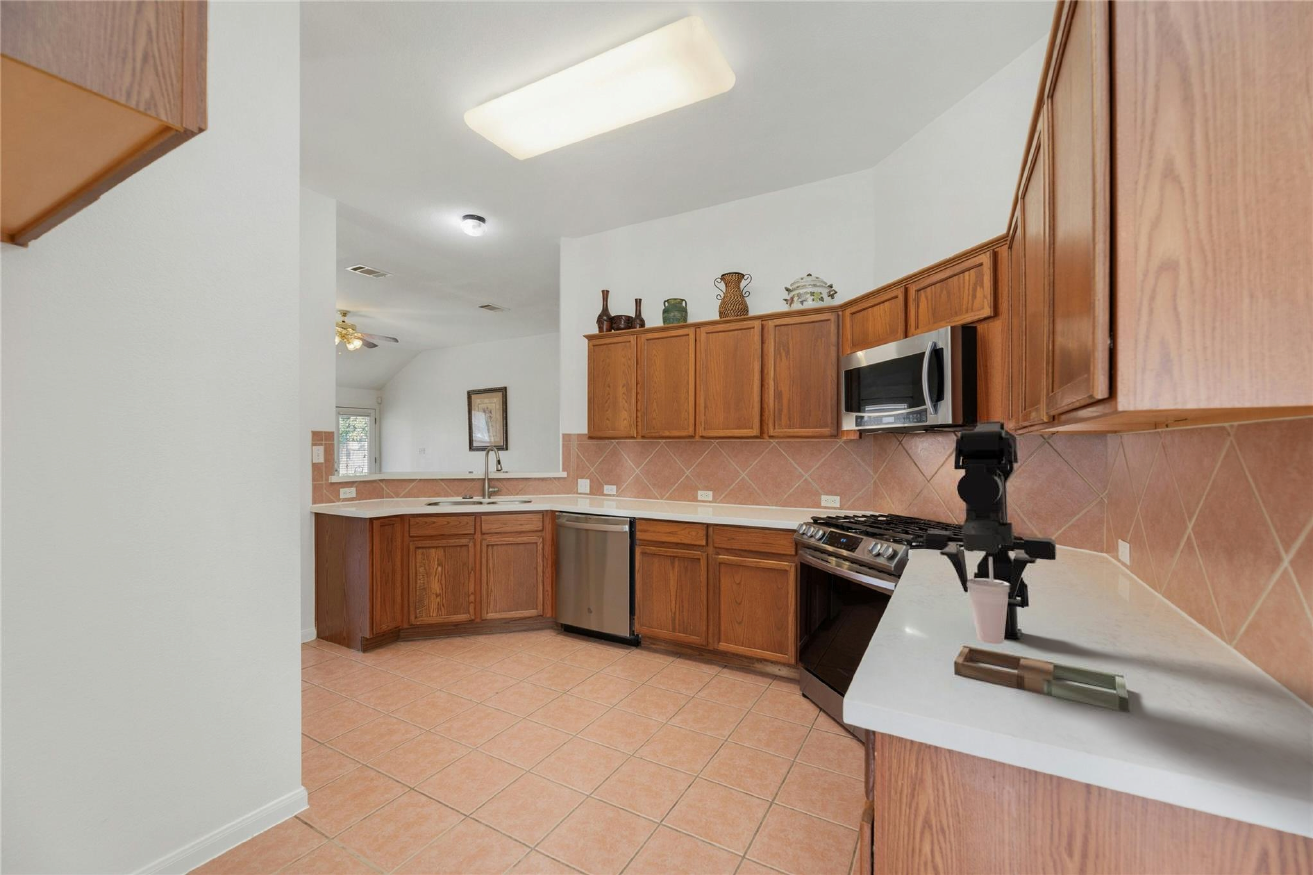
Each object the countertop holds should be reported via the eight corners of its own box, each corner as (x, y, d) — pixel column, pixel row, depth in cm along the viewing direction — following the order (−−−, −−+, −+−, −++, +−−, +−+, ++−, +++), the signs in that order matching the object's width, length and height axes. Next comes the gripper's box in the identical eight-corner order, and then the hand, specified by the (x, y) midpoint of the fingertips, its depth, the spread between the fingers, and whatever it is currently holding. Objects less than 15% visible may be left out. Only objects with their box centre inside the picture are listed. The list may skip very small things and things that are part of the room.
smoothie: (1021, 647, 83) (1017, 560, 84) (977, 645, 84) (973, 559, 85) (1002, 634, 89) (999, 553, 90) (962, 632, 91) (959, 552, 91)
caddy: (964, 656, 93) (963, 645, 93) (1124, 688, 80) (1123, 675, 80) (954, 673, 86) (954, 661, 86) (1129, 712, 72) (1128, 697, 72)
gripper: (913, 504, 88) (917, 596, 87) (1051, 509, 76) (1056, 616, 75) (928, 500, 96) (931, 583, 96) (1054, 504, 84) (1058, 599, 84)
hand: (988, 594), depth 87 cm, fingers closed on smoothie, 6 cm apart
